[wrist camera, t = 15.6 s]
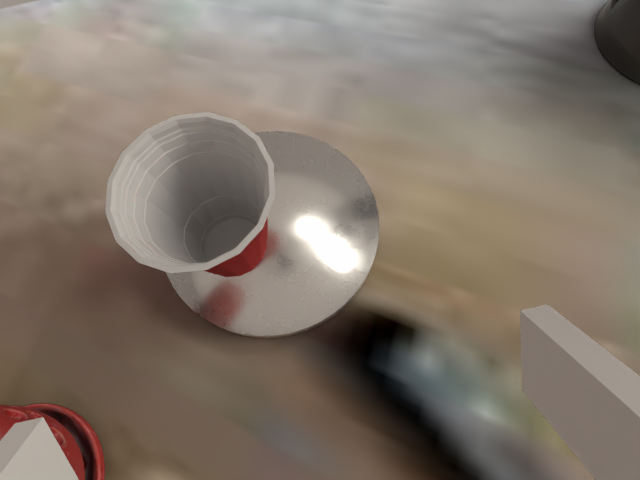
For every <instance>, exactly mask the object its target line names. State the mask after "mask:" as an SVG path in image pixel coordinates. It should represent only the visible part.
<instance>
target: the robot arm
mask: <svg viewBox="0 0 640 480" xmlns="http://www.w3.org/2000/svg"><path fill="white" fill-rule="evenodd" d="M595 37H596V41H597V44H598V46H599V48H600V50H601V52H602V53H603V55H604V56H605V58H606V59H607V60H608V61H609V62H610V63H611V64H612V65H613V66H614V67H615V68H616V69H617V70H618V71H620V72H621V73H622V74H624V75H625V76H627V77H628V78H630V79H632V80H634V81H635V82H638V83H640V0H608V2H607V3H606V4H605V6H604V7H603V9H602V10H601V11H600V13H599V15H598V17H597V19H596V23H595ZM520 324H521V364H522V391H523V392H524V393H525V394H526V396H527V397H528V398H529V399H530V400H531V402H532V403H533V404H534V405H535V407H536V408H537V409H538V410H539V411H540V413H541V414H542V415H543V416H544V418H545V419H546V420H547V421H548V422H549V424H550V425H551V426H552V427H553V429H554V430H555V431H556V432H557V433H558V435H559V436H560V437H561V438H562V439H563V441H564V442H565V443H566V444H567V446H568V447H569V448H570V449H571V450H572V452H573V453H574V454H575V455H576V457H577V458H578V459H579V460H580V461H581V463H582V464H583V465H584V466H585V467H586V469H587V470H588V471H589V472H590V474H591V475H592V476H593V477H594V478H595V480H640V376H639V375H638V374H636V373H635V372H634V371H633V370H631V369H630V368H629V367H627V366H626V365H625V364H624V363H622V362H621V361H620V360H618V359H617V358H616V357H615V356H613V355H612V354H611V353H609V352H608V351H607V350H606V349H604V348H603V347H602V346H600V345H599V344H598V343H596V342H595V341H594V340H593V339H591V338H590V337H589V336H587V335H586V334H585V333H584V332H582V331H581V330H580V329H578V328H577V327H576V326H575V325H573V324H572V323H571V322H569V321H568V320H567V319H566V318H564V317H563V316H562V315H560V314H559V313H558V312H557V311H555V310H554V309H553V308H551V307H550V306H549V305H548V304H547V305H542V306H538V307H533V308H529V309H524V310H520ZM0 480H79V479H78V477H77V475H76V474H75V472H74V470H73V468H72V467H71V465H70V463H69V461H68V460H67V458H66V456H65V454H64V453H63V451H62V449H61V447H60V446H59V444H58V442H57V440H56V439H55V437H54V435H53V433H52V432H51V430H50V428H49V426H48V425H47V423H46V421H45V419H44V418H43V417H41V418H37V419H32V420H28V421H23V422H19V423H15V424H14V425H13V426H12V427H11V429H10V430H9V431H8V432H7V433H6V435H5V436H4V437H3V438H2V440H1V441H0Z"/></svg>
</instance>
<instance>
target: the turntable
mask: <svg viewBox="0 0 640 480" xmlns="http://www.w3.org/2000/svg"><path fill="white" fill-rule="evenodd" d="M255 134H256V135H257V136H259V137H260V139H261V141H262V143H263V144H264V146H265V148H266V150H267V152H268V154H269V156H270V158H271V160H272V161H273V163H274V179H275V198H274V201H273V203H272V206H271V209H270V211H269V214H268V238H267V240H266V243H267V248H266V250H265V253H264V255H263V258H262V260H261V261H260V263H259V264H258V265H257V266H256V267H255V268H254V269H253V270H252V271H250V272H248V273H245V274H243V275H241V276H234V277H224V276H221V275H217V274H213V273H209V272H206V271H203V270H201V271H190V272H179V273H168V272H166V274H167V276H168V278H169V280H170V282H171V284H172V286H173V288H174V289H175V291H176V292H177V293H178V295H179V296H180V298H181V299H182V300H183V301H184V302H185V303H186V304H187V305H188V306H189V307H190V308H191V309H192V310H193V311H194V312H196V313H197V314H198V315H199V316H201V317H202V318H204V319H206V320H207V321H209V322H211V323H213V324H214V325H216V326H218V327H220V328H222V329H225V330H227V331H230V332H232V333H235V334H239V335H243V336H247V337H256V338H279V337H285V336H291V335H295V334H298V333H302V332H305V331H308V330H310V329H312V328H314V327H317V326H319V325H321V324H323V323H324V322H326V321H327V320H329V319H331V318H332V317H334V316H335V315H336V314H337V313H339V312H340V311H341V310H342V309H343V308H345V307H346V306H347V304H348V303H349V302H350V301H351V300H352V299H353V298H354V297H355V296H356V294H357V293H358V291H359V290H360V288H361V287H362V286H363V284H364V282H365V280H366V278H367V276H368V274H369V272H370V269H371V266H372V263H373V261H374V258H375V255H376V250H377V245H378V240H379V217H378V210H377V206H376V202H375V199H374V196H373V193H372V191H371V188H370V187H369V185H368V183H367V181H366V179H365V178H364V176H363V175H362V173H361V172H360V171H359V169H358V168H357V167H356V166H355V165H354V164H353V163H352V162H351V161H350V160H349V159H348V158H347V157H346V156H345V155H343V154H342V153H341V152H339V151H338V150H337V149H335V148H333V147H332V146H330V145H328V144H327V143H324V142H322V141H320V140H318V139H315V138H312V137H309V136H306V135H302V134H296V133H291V132H278V131H276V132H261V133H255Z"/></svg>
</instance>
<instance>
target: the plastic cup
mask: <svg viewBox="0 0 640 480" xmlns="http://www.w3.org/2000/svg"><path fill="white" fill-rule="evenodd" d="M274 198H275V179H274V163H273V161H272V160H271V158H270V156H269V154H268V152H267V150H266V148H265V146H264V144H263V143H262V141H261V139H260V137H259V136H257V135H256V134H255V133H253V132H252V131H251V130H249V129H248V128H247V127H245V126H244V125H243V124H241V123H240V122H239V121H238V120H236V119H232V118H228V117H224V116H220V115H216V114H213V113H209V112H202V113H193V114H184V115H175V116H173V117H171V118H169V119H167V120H164V121H162V122H160V123H158V124H156V125H154V126H152V127H150V128H147V129H146V130H144V131H143V132H142V133H141V134H140V135H139V136H138V137H137V138H136V139H135V140H134V141H133V142H132V143H131V144H130V145H129V146H128V147H127V148H126V149H125V150H124V151H123V152H122V153H121V155H120V157H119V159H118V161H117V163H116V165H115V167H114V169H113V171H112V173H111V175H110V177H109V179H108V182H107V194H106V206H105V213H106V216H107V219H108V222H109V224H110V227H111V230H112V233H113V235H114V238H115V241H116V242H117V243H118V244H119V245H120V246H121V247H122V248H123V249H124V250H126V251H127V252H128V253H129V254H130V255H131V256H132V257H133V258H134V259H135V260H136V261H137V262H138V263H140V264H143V265H147V266H150V267H153V268H156V269H159V270H162V271H165V272H168V273H179V272H190V271H201V270H203V271H206V272H209V273H213V274H217V275H221V276H224V277H234V276H241V275H243V274H245V273H248V272H250V271H252V270H253V269H254V268H255V267H256V266H257V265H258V264H259V263H260V261H261V260H262V258H263V255H264V253H265V250H266V248H267V243H266V240H267V238H268V214H269V211H270V209H271V206H272V203H273V201H274Z"/></svg>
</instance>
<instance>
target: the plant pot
mask: <svg viewBox="0 0 640 480" xmlns="http://www.w3.org/2000/svg"><path fill="white" fill-rule="evenodd" d="M41 417H43V418H44V419H45V421H46V423H47V425H48V426H49V428H50V430H51V432H52V433H53V435H54V437H55V439H56V440H57V442H58V444H59V446H60V447H61V449H62V451H63V453H64V454H65V456H66V458H67V460H68V461H69V463H70V465H71V467H72V468H73V470H74V472H75V474H76V475H77V477H78V479H79V480H104V476H105V464H104V456H103V451H102V448H101V444H100V441H99V439H98V437H97V435H96V433H95V431H94V430H93V429H92V427H91V426H90V424H89V423H88V422H87V421H86V420H85V419H84V418H82V417H81V416H80V415H78V414H77V413H76V412H74V411H72V410H70V409H68V408H65V407H62V406H59V405H55V404H46V403H40V404H32V405H27V406H23V407H21V406H7V405H0V441H1V440H2V438H3V437H4V436H5V435H6V433H7V432H8V431H9V430H10V429H11V427H12V426H13V425H14V424H15V423H19V422H23V421H28V420H32V419H37V418H41Z"/></svg>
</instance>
